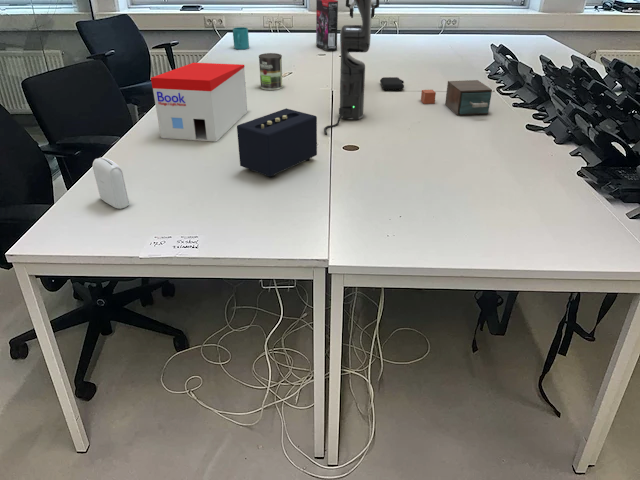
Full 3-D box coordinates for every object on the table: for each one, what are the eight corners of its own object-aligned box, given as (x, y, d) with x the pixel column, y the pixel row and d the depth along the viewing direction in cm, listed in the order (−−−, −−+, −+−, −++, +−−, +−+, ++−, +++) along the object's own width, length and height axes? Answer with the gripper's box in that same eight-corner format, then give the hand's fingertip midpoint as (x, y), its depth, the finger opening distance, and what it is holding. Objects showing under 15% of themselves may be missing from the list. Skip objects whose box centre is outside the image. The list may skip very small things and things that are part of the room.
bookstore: (160, 138, 186) (150, 77, 175) (199, 108, 215) (192, 55, 204) (216, 142, 182) (209, 80, 171) (247, 111, 212) (243, 57, 201)
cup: (231, 50, 313) (229, 30, 307) (236, 46, 323) (234, 27, 318) (246, 50, 312) (245, 30, 307) (250, 46, 323) (249, 27, 317)
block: (434, 103, 220) (435, 92, 218) (423, 103, 220) (424, 92, 217) (431, 100, 224) (432, 89, 222) (420, 100, 224) (421, 89, 221)
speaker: (287, 150, 175) (286, 105, 168) (317, 159, 168) (317, 113, 161) (239, 170, 161) (235, 122, 153) (270, 181, 154) (267, 132, 146)
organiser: (488, 114, 208) (492, 89, 203) (457, 115, 206) (460, 90, 201) (474, 103, 220) (477, 79, 215) (445, 104, 219) (447, 81, 214)
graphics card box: (315, 46, 322) (315, -3, 308) (325, 45, 325) (325, -3, 311) (327, 52, 309) (327, 1, 295) (338, 50, 311) (338, 0, 297)
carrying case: (406, 91, 236) (402, 82, 249) (407, 84, 234) (402, 76, 247) (382, 91, 236) (379, 83, 249) (383, 84, 234) (379, 76, 247)
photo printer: (98, 199, 145) (87, 156, 138) (112, 194, 147) (103, 152, 141) (117, 211, 139) (107, 167, 132) (132, 205, 141) (122, 162, 135)
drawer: (493, 116, 202) (496, 96, 198) (464, 117, 201) (467, 97, 197) (475, 102, 218) (478, 83, 214) (448, 103, 216) (450, 84, 212)
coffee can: (275, 91, 237) (273, 58, 230) (256, 88, 241) (254, 56, 234) (287, 85, 245) (286, 54, 238) (268, 83, 249) (266, 52, 242)
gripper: (345, -24, 218) (344, 19, 227) (380, -23, 217) (378, 19, 225) (347, -25, 225) (346, 16, 233) (380, -25, 223) (378, 16, 231)
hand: (362, 17), depth 229 cm, fingers open, 8 cm apart
